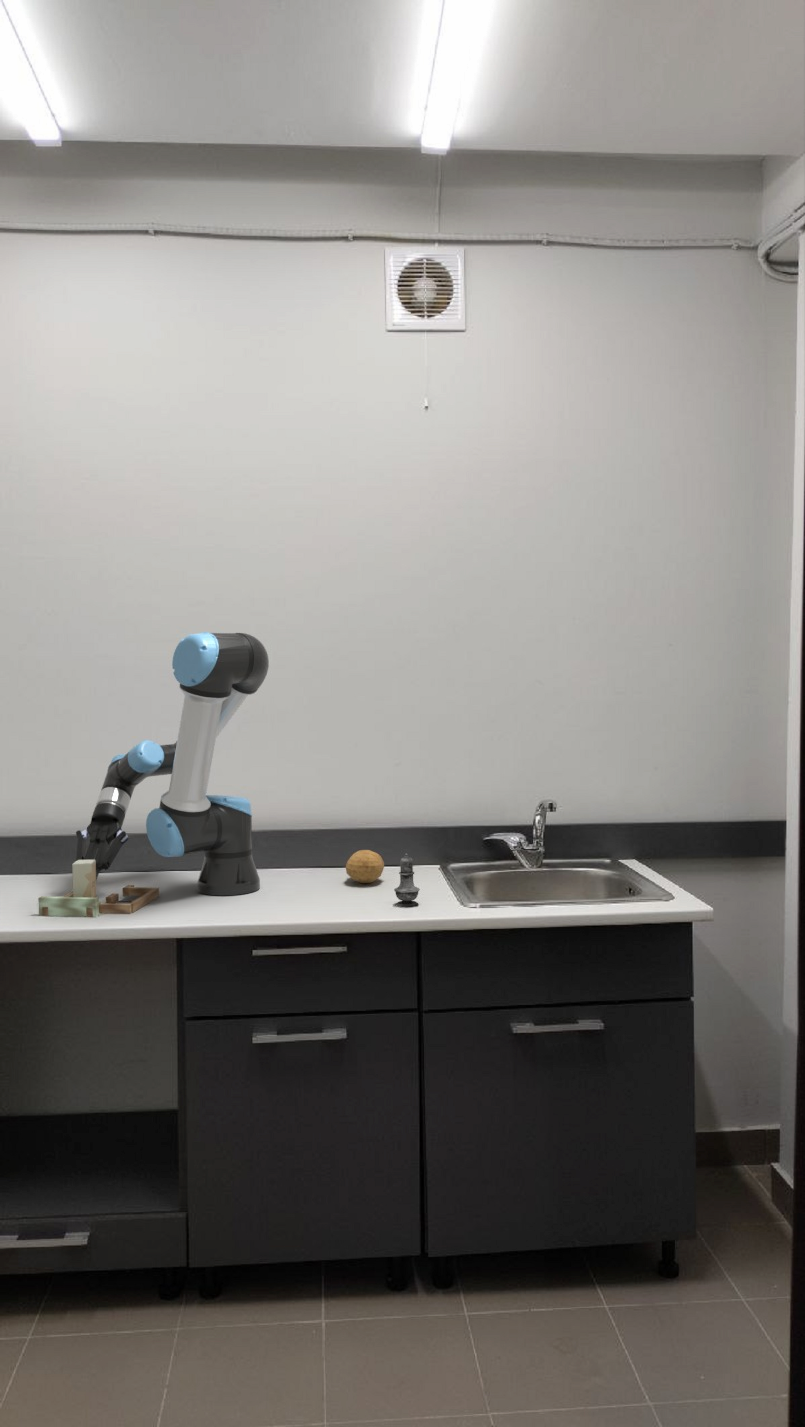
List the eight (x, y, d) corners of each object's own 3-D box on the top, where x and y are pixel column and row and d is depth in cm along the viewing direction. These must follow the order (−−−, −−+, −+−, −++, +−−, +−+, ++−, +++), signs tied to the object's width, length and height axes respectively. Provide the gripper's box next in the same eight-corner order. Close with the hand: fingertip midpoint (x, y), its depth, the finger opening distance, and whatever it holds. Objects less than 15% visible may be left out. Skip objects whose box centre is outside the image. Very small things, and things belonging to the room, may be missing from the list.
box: (92, 911, 251) (90, 863, 250) (72, 912, 251) (71, 863, 250) (97, 906, 256) (96, 858, 256) (78, 906, 256) (77, 859, 255)
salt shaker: (401, 908, 250) (400, 856, 249) (389, 903, 255) (389, 852, 254) (424, 905, 253) (423, 853, 252) (412, 900, 258) (411, 849, 257)
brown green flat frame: (163, 893, 269) (163, 877, 268) (125, 917, 245) (124, 899, 245) (84, 891, 272) (84, 875, 271) (38, 915, 248) (38, 898, 248)
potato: (382, 876, 286) (381, 845, 286) (386, 887, 272) (385, 855, 272) (344, 877, 285) (344, 846, 285) (346, 889, 271) (346, 856, 271)
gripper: (140, 819, 274) (114, 902, 259) (90, 818, 276) (62, 900, 261) (131, 801, 269) (104, 884, 253) (80, 801, 271) (51, 883, 255)
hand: (83, 892), depth 257 cm, fingers closed
